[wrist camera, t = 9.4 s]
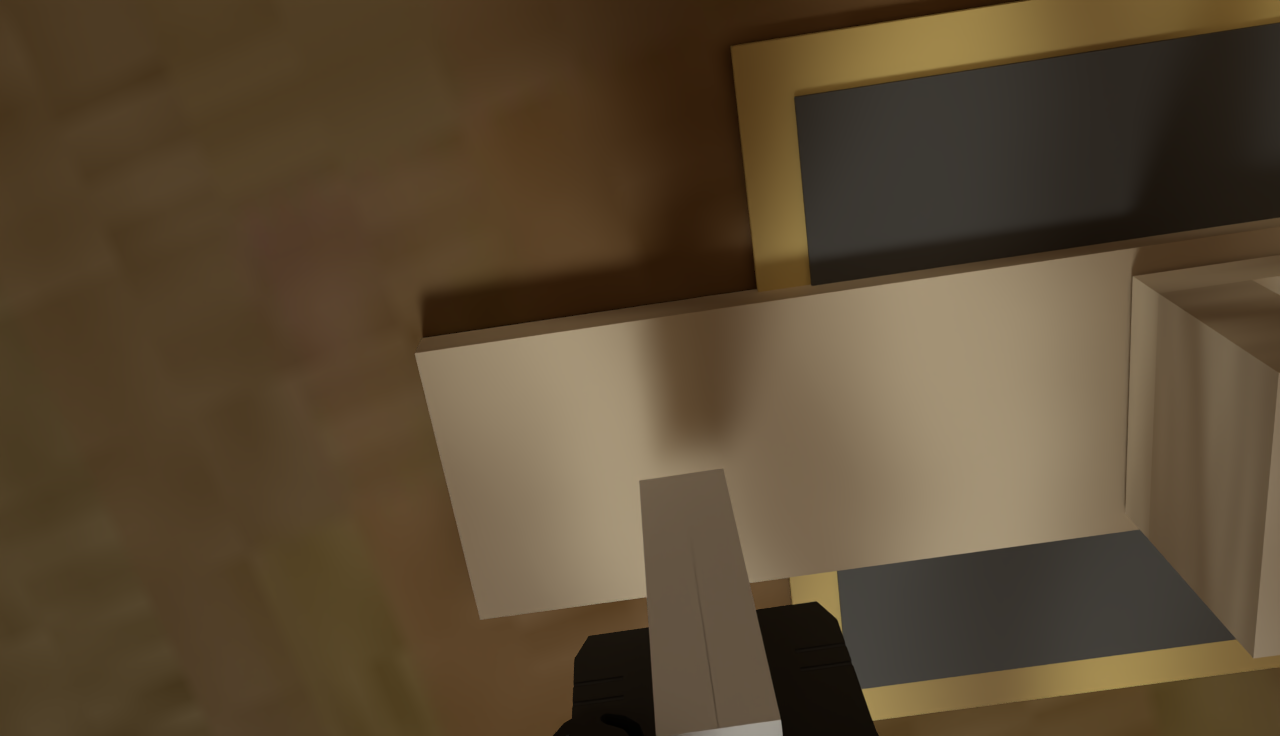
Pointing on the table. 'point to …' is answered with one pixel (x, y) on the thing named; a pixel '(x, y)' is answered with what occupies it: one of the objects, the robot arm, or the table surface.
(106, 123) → the table surface
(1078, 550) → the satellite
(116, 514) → the table surface
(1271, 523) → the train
